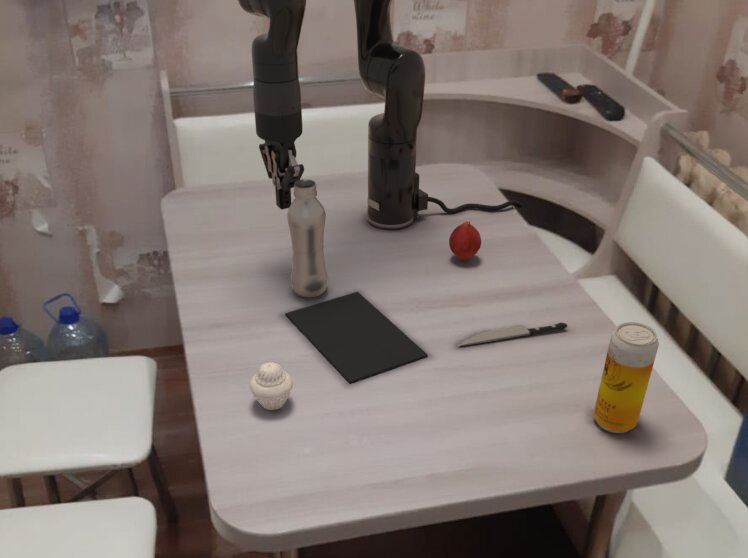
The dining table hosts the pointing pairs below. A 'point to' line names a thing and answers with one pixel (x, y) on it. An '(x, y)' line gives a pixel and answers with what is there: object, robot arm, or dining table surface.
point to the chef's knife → (509, 333)
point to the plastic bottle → (307, 240)
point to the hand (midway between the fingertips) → (283, 206)
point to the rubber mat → (355, 336)
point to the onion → (465, 241)
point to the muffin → (271, 386)
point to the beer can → (625, 376)
